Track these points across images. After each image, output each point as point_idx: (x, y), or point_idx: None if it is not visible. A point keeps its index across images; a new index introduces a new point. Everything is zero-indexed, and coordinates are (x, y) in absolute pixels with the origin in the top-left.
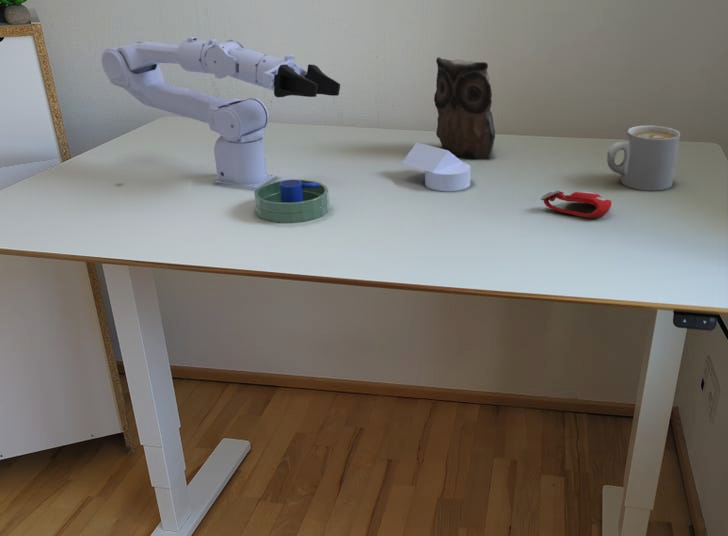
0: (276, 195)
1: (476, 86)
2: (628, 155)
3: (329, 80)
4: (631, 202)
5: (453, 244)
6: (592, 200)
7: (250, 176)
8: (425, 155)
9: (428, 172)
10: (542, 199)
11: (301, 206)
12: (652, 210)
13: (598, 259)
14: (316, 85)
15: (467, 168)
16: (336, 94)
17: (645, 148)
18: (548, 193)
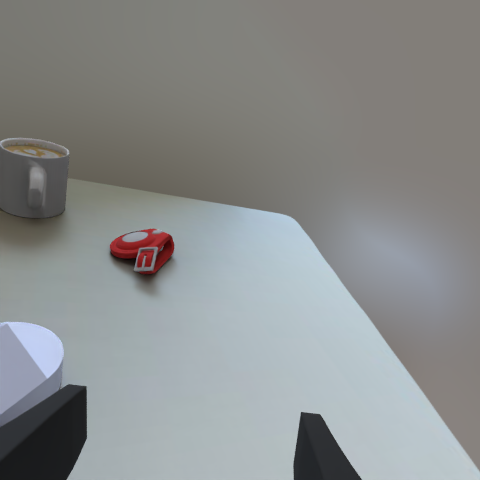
0: None
1: None
2: (44, 183)
3: (51, 424)
4: (105, 225)
5: (298, 362)
6: (169, 236)
7: None
8: None
9: (33, 389)
10: (153, 269)
11: None
12: (129, 220)
13: (268, 265)
14: (315, 416)
15: (21, 326)
16: (85, 435)
17: (64, 167)
18: (151, 258)
